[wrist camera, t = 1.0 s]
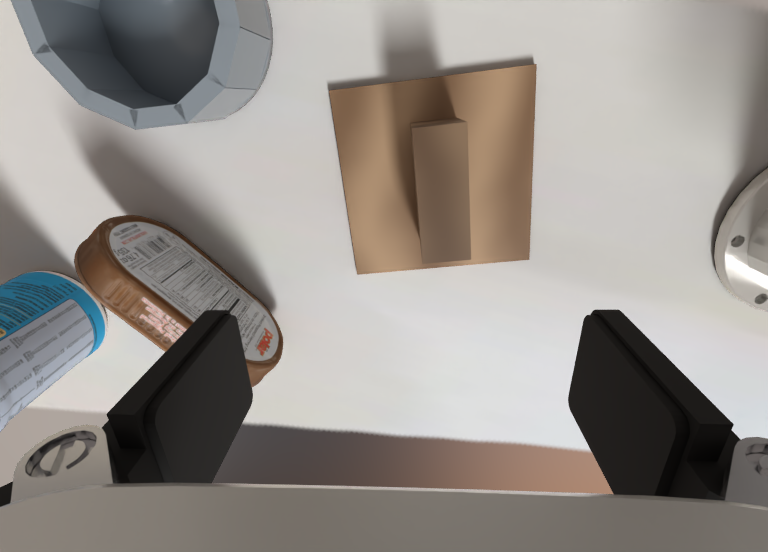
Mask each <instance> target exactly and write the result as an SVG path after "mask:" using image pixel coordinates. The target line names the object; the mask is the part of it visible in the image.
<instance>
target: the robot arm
mask: <svg viewBox="0 0 768 552" xmlns="http://www.w3.org/2000/svg"><path fill="white" fill-rule="evenodd" d="M714 259H715V265H716V271H717V273H718V276H719V278H720V280H721V283H722V284H723V285H724V286H725V288H726V289H727V290H728V291H729V292H730V293H731V294H732V295H734V296H735V297H736V298H738V299H739V300H741V301H742V302H744V303H746V304H748V305H749V306H751V307H753V308H755V309H759V310H762V311H766V312H768V168H767V169H766V170H764V171H763V172H762V173H761V174H759V175H758V176H757V177H756V178H754V180H753V181H752V182H751V183H750V184H749V185H748V186H747V187H746V188H745V189H744V190H743V191H742V192H741V193H740V194H739V196H738V197H737V199H736V200H735V201H734V203H733V204H732V206H731V207H730V208H729V210H728V212H727V214H726V216H725V218H724V220H723V222H722V224H721V226H720V229H719V232H718V235H717V239H716V242H715V254H714ZM252 399H253V393H252V387H251V383H250V378H249V373H248V368H247V363H246V359H245V354H244V349H243V344H242V339H241V335H240V330H239V325H238V320H237V318H236V316H235V315H231V313H230V312H229V311H228V310H206V311H204V312H203V313H202V314H201V315H200V316H199V317H198V318H197V319H196V320H195V322H194V323H193V324H192V325H191V326H190V327H189V328H188V329H187V330H186V331H185V332H184V333H183V334H182V335H181V336H180V337H179V338H178V339H177V341H176V342H175V343H174V344H173V345H172V346H171V347H170V348H169V349H168V350H167V351H166V352H165V353H164V354H163V355H162V356H161V357H160V358H159V359H158V361H157V362H156V363H155V364H154V365H153V366H152V367H151V368H150V369H149V370H148V371H147V372H146V373H145V374H144V375H143V376H142V377H141V378H140V379H139V381H138V382H137V383H136V384H135V385H134V386H133V387H132V388H131V389H130V390H129V391H128V392H127V393H126V394H125V395H124V396H123V397H122V398H121V399H120V401H119V402H118V403H117V404H116V405H115V406H114V407H113V408H112V409H111V410H110V411H109V412H108V413H107V417H108V419H109V421H108V422H107V423H106V424H105V425H104V426H103V427H102V428H100V427H98V426H94V425H82V426H75V427H72V428H69V429H65V430H62V431H60V432H58V433H56V434H54V435H52V436H49V437H47V438H46V439H44V440H43V441H41V442H40V443H38V444H37V445H35V446H34V447H33V448H32V449H30V450H29V451H28V452H27V453H26V454H25V455H24V456H23V457H22V459H21V460H20V461H19V463H18V464H17V466H16V469H15V472H14V478H13V482H11V483H9V484H7V485H5V486H2V487H0V552H768V439H767V438H761V437H749V438H744V439H742V440H740V439H739V438H738V437H737V436H736V435H735V433H734V432H733V431H732V430H731V429H732V427H733V425H734V424H733V423H732V422H731V421H730V420H729V419H728V418H727V417H726V416H725V415H724V414H723V413H722V412H721V411H720V410H719V409H718V408H717V407H716V406H715V405H714V404H713V403H712V402H711V401H710V400H709V399H708V398H707V397H706V396H705V395H704V394H703V393H702V392H701V391H700V390H699V389H698V388H697V387H696V386H695V385H694V384H693V383H692V382H691V381H690V380H689V379H688V378H687V377H686V376H685V375H684V374H683V373H682V372H681V371H680V370H679V369H678V368H677V367H676V366H675V365H674V364H673V363H672V362H671V361H670V360H669V359H668V358H667V357H666V356H665V355H664V354H663V353H662V352H661V351H660V350H659V349H658V348H657V347H656V346H655V345H654V344H653V343H652V342H651V341H650V340H649V339H648V338H647V337H646V336H645V335H644V334H643V333H642V332H641V331H640V330H639V329H638V328H637V327H636V326H635V325H634V324H633V323H632V322H631V321H630V320H629V319H628V318H627V317H626V316H625V315H624V314H623V313H622V312H621V311H620V310H594V311H593V312H592V313H591V315H587V316H586V317H585V318H584V321H583V326H582V331H581V336H580V341H579V346H578V351H577V356H576V361H575V366H574V371H573V376H572V381H571V386H570V391H569V397H568V402H569V407H570V410H571V413H572V414H573V416H574V418H575V420H576V422H577V424H578V426H579V428H580V430H581V432H582V434H583V436H584V438H585V440H586V441H587V443H588V445H589V447H590V449H591V451H592V453H593V455H594V457H595V459H596V461H597V463H598V465H599V466H600V468H601V470H602V472H603V474H604V476H605V478H606V480H607V482H608V484H609V486H610V488H611V489H612V491H613V493H614V494H594V493H563V492H531V491H502V490H471V489H468V490H467V489H436V488H400V487H397V488H396V487H361V486H360V487H359V486H321V485H320V486H319V485H318V486H317V485H273V484H272V485H270V484H226V483H212V481H213V479H214V477H215V475H216V473H217V471H218V469H219V467H220V466H221V464H222V462H223V459H224V458H225V456H226V454H227V452H228V450H229V448H230V446H231V444H232V442H233V440H234V438H235V436H236V434H237V432H238V430H239V428H240V426H241V424H242V422H243V420H244V418H245V416H246V414H247V412H248V410H249V409H250V406H251V404H252Z"/></svg>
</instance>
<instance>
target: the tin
mask: <svg viewBox="0 0 768 552" xmlns="http://www.w3.org/2000/svg"><path fill="white" fill-rule="evenodd" d="M74 264H75V268H76V272H77V274H78V276H79V278H80V280H81V282H82V284H83V285H84V286H85V288H86V289H87V290H88V291H89V292H90V294H91V295H92V296H93V297H94V298H95V299H96V300H97V301H99V302H100V303H101V304H102V305H104V306H105V307H106V308H107V309H109V310H110V311H112V312H113V313H114V314H116V315H117V316H118V317H120V318H121V319H122V320H124V321H125V322H126V323H128V324H129V325H130V326H131V327H133V328H134V329H135V330H137V331H138V332H140V333H141V334H142V335H144V336H145V337H146V338H148V339H149V340H150V341H152V342H153V343H154V344H156V345H157V346H158V347H159V348H161V349H162V350H164V351H165V352H166V351H167V350H168V349H169V348H170V347H171V346H172V345H173V344H174V343H175V342H176V341H177V339H178V338H179V337H180V336H181V335H182V334H183V333H184V332H185V331H186V330H187V329H188V328H189V327H190V326H191V325H192V324H193V323H194V322H195V320H196V319H197V318H198V317H199V316H200V315H201V314H202V313H203V312H204V311H206V310H228V311H229V312H230V313H231V315H235V316H236V318H237V320H238V325H239V330H240V335H241V339H242V344H243V349H244V354H245V359H246V363H247V368H248V373H249V378H250V383H251V387H254V386H255V385H257V384H258V383H259V382H260V381H261V380H262V379H263V377H264V376H265V375H266V374H267V373H268V372H269V371H271V370H272V369H273V368H274V367H275V366H276V365H277V363H278V362H279V360H280V358H281V355H282V349H283V337H282V333H281V331H280V328H279V326H278V324H277V322H276V320H275V319H274V317H273V316H272V314H271V313H270V311H269V310H268V309H267V308H266V307H265V306H264V305H263V304H262V303H261V302H260V301H259V300H258V299H257V298H256V297H255V296H253V295H252V294H251V293H250V292H249V291H248V290H247V289H245V288H244V287H243V286H242V285H241V284H240V283H238V282H237V281H236V280H235V279H234V278H233V277H231V276H230V275H229V274H228V273H227V272H226V271H225V270H223V269H222V268H221V267H220V266H219V265H218V264H216V263H215V262H214V261H213V260H212V259H210V258H209V257H208V256H207V255H206V254H205V253H203V252H202V251H201V250H200V249H199V248H198V247H196V246H195V245H194V244H193V243H192V242H190V241H189V240H188V239H187V238H185V237H184V236H183V235H181V234H180V233H178V232H177V231H175V230H174V229H172V228H170V227H168V226H166V225H164V224H162V223H160V222H158V221H155V220H152V219H149V218H146V217H141V216H135V215H126V216H118V217H113V218H110V219H107V220H105V221H103V222H102V223H101V224H100V225H99V226H98V227H97V228H96V229H95V230H94V231H93V233H92V234H91V235H90V236H89V237H88V239H86V240H85V241H84V242H82V243H81V244H80V245H79V247H78V249H77V251H76V254H75V259H74Z"/></svg>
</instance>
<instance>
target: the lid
mask: <svg viewBox="0 0 768 552" xmlns="http://www.w3.org/2000/svg"><path fill="white" fill-rule="evenodd" d="M536 65H537V64H533V65H526V66H518V67H510V68H502V69H494V70H486V71H479V72H471V73H463V74H455V75H447V76H439V77H432V78H424V79H416V80H408V81H400V82H393V83H385V84H377V85H369V86H361V87H353V88H346V89H338V90H330V91H329V94H330V100H331V107H332V113H333V120H334V126H335V133H336V139H337V146H338V152H339V159H340V165H341V171H342V178H343V184H344V191H345V197H346V204H347V210H348V217H349V223H350V230H351V236H352V243H353V249H354V256H355V262H356V269H357V275H358V274H369V273H381V272H392V271H404V270H415V269H427V268H438V267H449V266H461V265H472V264H484V263H495V262H507V261H518V260H529V253H530V226H531V199H532V172H533V145H534V119H535V92H536Z"/></svg>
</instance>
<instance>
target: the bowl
mask: <svg viewBox="0 0 768 552" xmlns="http://www.w3.org/2000/svg"><path fill="white" fill-rule="evenodd" d="M11 2H12V4H13V7H14V9H15V12H16V14H17V17H18V19H19V22H20V24H21V27H22V29H23V31H24V34H25V36H26V39H27V41H28V44H29V46H30V49H31V51H32V54H34V56H35V58H36V59H37V60H38V61H39V62H40V63H41V64H42V65H43V66H44V67H45V68H46V69H47V70H48V71H49V72H50V74H51V75H52V76H53V77H54V78H55V79H56V80H57V81H58V82H59V83H60V84H61V85H62V86H63V87H64V89H65V90H66V91H67V92H68V93H69V94H70V95H71V96H72V97H73V98H74V99H75V100H76V101H77V102H78V103H79V105H81V106H83V107H85V108H87V109H89V110H92V111H94V112H96V113H99V114H101V115H103V116H105V117H108V118H110V119H112V120H115V121H117V122H119V123H121V124H124V125H126V126H128V127H131V128H133V129H145V128H154V127H162V126H171V125H180V124H188V123H196V122H204V121H212V120H220V119H225V118H226V117H227V116H229V115H231V114H233V113H234V112H236V111H238V110H239V109H241V108H242V107H243V106H245V105H246V104H247V103H248V102H249V101H250V100H251V99H252V98H253V97H254V95H255V94H256V93H257V91H258V90H259V88H260V87H261V85H262V83H263V81H264V79H265V76H266V74H267V71H268V68H269V64H270V60H271V55H272V45H273V28H272V21H271V14H270V10H269V6H268V1H267V0H11Z"/></svg>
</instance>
